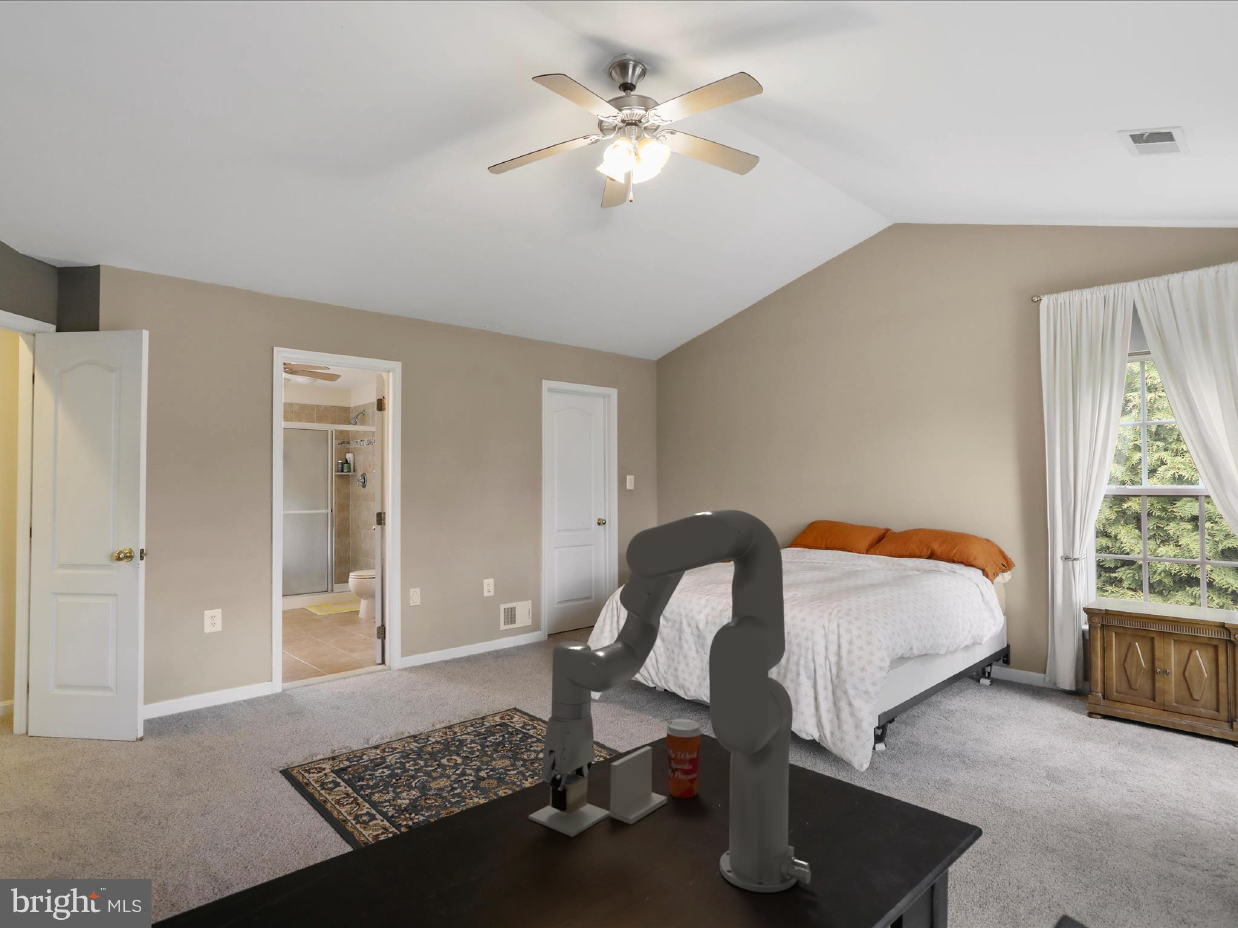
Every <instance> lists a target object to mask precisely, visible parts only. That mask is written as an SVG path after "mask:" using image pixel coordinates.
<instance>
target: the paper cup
mask: <svg viewBox="0 0 1238 928" xmlns="http://www.w3.org/2000/svg"><path fill="white" fill-rule="evenodd" d="M664 731H665V733H666V748H667V749H666V750H667V763H668V764H667V765H668V767H667V768H668V769H667V770H668V786H669V793H670V795H671V794H672V795H671V796H673V797H675V798H678V797H679V799H690V798H689V797H691V798H693V796H694V797H696V796H697V792H698V783H699V767H700V753H701V752H700V750H701V736H702V734H703V733H704V730H703V729H702V727H701V724H700V723H699V722H697V721H695V720H692V719H685V718H680V719H679V718H678V719H672V720H670V721H669V722H668V724H667V725H666V727H665V730H664Z"/></svg>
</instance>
